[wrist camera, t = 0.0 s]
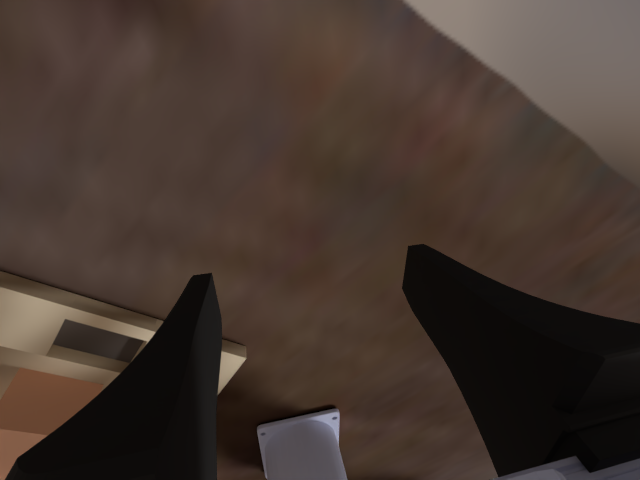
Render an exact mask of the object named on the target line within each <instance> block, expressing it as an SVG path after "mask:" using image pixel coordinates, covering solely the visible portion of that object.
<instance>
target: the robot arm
mask: <svg viewBox="0 0 640 480" xmlns="http://www.w3.org/2000/svg"><path fill="white" fill-rule="evenodd" d="M402 289H403V292H404V294H405V296H406V298H407V301H408V303H409V305H410V307H411V309H412V311H413V312H414V314H415V316H416V317H417V319H418V320H419V322H420V324H421V325H422V327H423V328H424V330H425V331H426V333H427V334H428V336H429V337H430V339H431V340H432V342H433V343H434V345H435V346H436V348H437V350H438V351H439V353H440V354H441V356H442V357H443V359H444V361H445V362H446V364H447V366H448V367H449V369H450V371H451V373H452V375H453V377H454V379H455V381H456V383H457V385H458V387H459V388H460V390H461V392H462V395H463V397H464V399H465V401H466V403H467V405H468V407H469V409H470V411H471V413H472V415H473V418H474V420H475V422H476V424H477V427H478V429H479V431H480V434H481V436H482V438H483V440H484V443H485V445H486V447H487V450H488V452H489V455H490V457H491V460H492V462H493V465H494V467H495V469H496V472H497V474H498V478H494V479H491V480H640V324H639V323H634V322H629V321H624V320H618V319H613V318H608V317H604V316H600V315H595V314H591V313H587V312H583V311H579V310H576V309H572V308H569V307H565V306H562V305H559V304H555V303H552V302H549V301H546V300H543V299H540V298H537V297H534V296H531V295H529V294H526V293H524V292H521V291H518V290H516V289H513V288H511V287H508V286H506V285H504V284H501V283H499V282H497V281H495V280H493V279H491V278H489V277H486V276H484V275H482V274H480V273H478V272H476V271H474V270H472V269H470V268H469V267H467V266H465V265H463V264H461V263H459V262H457V261H455V260H453V259H452V258H450V257H448V256H446V255H444V254H442V253H441V252H439V251H437V250H435V249H433V248H431V247H429V246H427V245H424V244H419V245H412V246H408V251H407V258H406V265H405V272H404V279H403V286H402ZM221 352H222V322H221V314H220V309H219V304H218V300H217V295H216V290H215V286H214V281H213V276H212V273H208V274H200V275H193V276H192V277H191V279H190V280H189V282H188V284H187V286H186V288H185V289H184V291H183V293H182V294H181V296H180V298H179V299H178V301H177V303H176V304H175V306H174V307H173V309H172V310H171V312H170V313H169V315H168V316H167V318H166V319H165V321H164V322H163V323H162V325H161V326H160V327H159V329H158V330H157V331H156V333H155V334H154V335H153V337H152V338H151V339H150V341H149V342H148V343H147V344H146V345H145V347H144V348H143V349H142V350H141V351H140V353H139V354H138V355H137V356H136V357H135V358H134V359H133V360H132V362H131V363H130V364H129V365H128V366H127V367H126V368H125V369H124V370H123V371H122V372H121V373H120V374H119V375H118V376H117V377H116V378H115V379H114V380H113V381H112V382H111V383H110V384H109V385H108V386H107V387H106V388H105V389H104V390H103V391H101V392H100V393H99V394H98V395H97V396H96V397H95V398H94V399H92V400H91V401H90V402H89V403H88V404H87V405H86V406H84V407H83V408H82V409H81V410H80V411H78V412H77V413H76V414H75V415H73V416H72V417H71V418H70V419H69V420H67V421H66V422H65V423H64V424H62V425H61V426H60V427H58V428H57V429H56V430H54V431H53V432H52V433H50V434H49V435H48V436H46V437H45V438H44V439H42V440H41V441H40V442H38V443H37V444H36V445H34V446H33V447H32V448H30V449H29V450H28V451H26V452H25V453H23V454H22V455H20V456H19V457H18V458H17V459H16V461H15V463H14V465H13V466H12V468H11V470H10V471H9V473H8V475H7V477H6V478H5V480H217V455H216V409H217V396H218V385H219V374H220V363H221ZM257 434H258V440H259V445H260V451H261V456H262V461H263V467H264V472H265V477H266V478H267V480H347V476H346V472H345V469H344V465H343V461H342V457H341V454H340V450H339V446H338V445H339V410H338V409H330V410H326V411H321V412H316V413H312V414H307V415H303V416H298V417H294V418H289V419H284V420H280V421H275V422H271V423H266V424H262V425H259V426H258V427H257Z"/></svg>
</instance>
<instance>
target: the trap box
mask: <svg viewBox="0 0 640 480" xmlns="http://www.w3.org/2000/svg"><path fill="white" fill-rule="evenodd" d="M163 322H164V321H162V320H159V319H155V318H152V317H149V316H146V315H142V314H139V313H136V312H132V311H129V310H126V309H123V308H119V307H116V306H113V305H110V304H106V303H103V302H100V301H97V300H93V299H90V298H87V297H84V296H80V295H77V294H74V293H71V292H67V291H64V290H61V289H58V288H54V287H51V286H48V285H45V284H41V283H38V282H35V281H32V280H28V279H25V278H22V277H19V276H15V275H12V274H9V273H6V272H2V271H0V400H1V398H2V396H3V395H4V393H5V391H6V390H7V388H8V386H9V385H10V383H11V381H12V380H13V378H14V377H15V375H16V373H17V372H18V370H19V368H25V369H30V370H35V371H40V372H44V373H49V374H54V375H59V376H64V377H69V378H74V379H78V380H83V381H88V382H93V383H98V384H103V387H102V390H101V391H103V390H104V389H105V388H106V387H107V386H108V385H109V384H110V383H111V382H112V381H113V380H114V379H115V378H116V377H117V376H118V375H119V374H120V373H121V372H122V371H123V370H124V369H125V368H126V367H127V366H128V365H129V364H130V363H131V362H132V360H133V359H134V358H135V357H136V356H137V355H138V354H139V353H140V351H141V350H142V349H143V348H144V347H145V345H146V344H147V343H148V342H149V341H150V339H151V338H152V337H153V335H154V334H155V333H156V331H157V330H158V329H159V327H160V326H161V325H162V323H163ZM246 358H247V357H246V346H243V345H240V344H237V343H233V342H230V341H227V340H224V339H222V352H221V363H220V374H219V385H218V394H219V393H220V392H221V390H222V389H223V388H224V386H225V385H226V384H227V383H228V381H229V380H230V379H231V378H232V376H233V375H234V374H235V372H236V371H237V370H238V369H239V367H240V366H241V365H242V364H243V362H244V361H245V360H246Z"/></svg>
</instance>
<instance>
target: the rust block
mask: <svg viewBox="0 0 640 480" xmlns="http://www.w3.org/2000/svg"><path fill="white" fill-rule="evenodd" d="M102 387H103V384H98V383H93V382H88V381H83V380H78V379H74V378H69V377H64V376H59V375H54V374H49V373H44V372H40V371H35V370H30V369H25V368H19V370H18V372H17V373H16V375H15V377H14V378H13V380H12V381H11V383H10V385H9V386H8V388H7V390H6V391H5V393H4V395H3V396H2V398H1V400H0V480H5V478H6V477H7V475H8V473H9V471H10V470H11V468H12V466H13V465H14V463H15V461H16V459H17V458H18V457H19V456H20V455H22V454H23V453H25V452H26V451H28V450H29V449H30V448H32V447H33V446H34V445H36V444H37V443H38V442H40V441H41V440H42V439H44V438H45V437H46V436H48V435H49V434H50V433H52V432H53V431H54V430H56V429H57V428H58V427H60V426H61V425H62V424H64V423H65V422H66V421H67V420H69V419H70V418H71V417H72V416H73V415H75V414H76V413H77V412H78V411H80V410H81V409H82V408H83V407H84V406H86V405H87V404H88V403H89V402H90V401H91V400H92V399H94V398H95V397H96V396H97V395H98V394H99V393H100V392H101V390H102Z"/></svg>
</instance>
